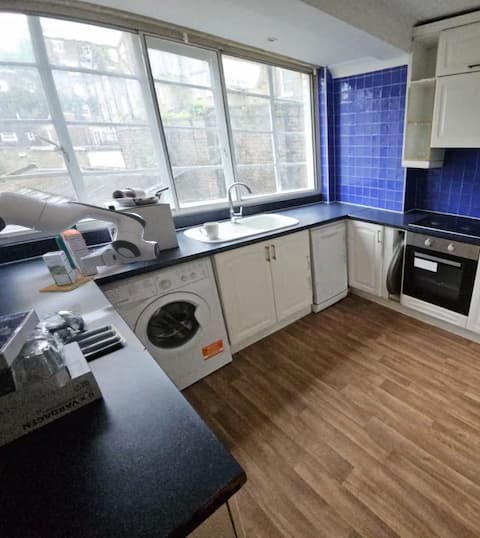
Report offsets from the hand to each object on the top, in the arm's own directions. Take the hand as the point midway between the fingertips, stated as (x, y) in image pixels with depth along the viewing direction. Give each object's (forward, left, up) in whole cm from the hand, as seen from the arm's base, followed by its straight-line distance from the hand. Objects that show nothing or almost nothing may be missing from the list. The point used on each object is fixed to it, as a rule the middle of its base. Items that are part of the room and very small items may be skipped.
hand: (84, 255), depth 128 cm
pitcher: (+25, +27, -13) cm, 39 cm away
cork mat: (-1, +12, -13) cm, 18 cm away
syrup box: (-1, +12, -12) cm, 17 cm away
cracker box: (+14, +15, -13) cm, 24 cm away
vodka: (+28, +3, -13) cm, 31 cm away
